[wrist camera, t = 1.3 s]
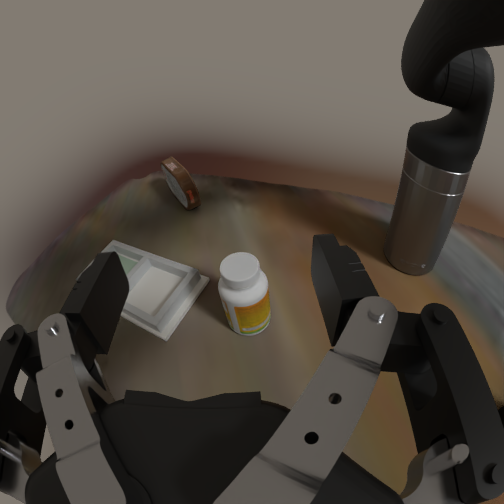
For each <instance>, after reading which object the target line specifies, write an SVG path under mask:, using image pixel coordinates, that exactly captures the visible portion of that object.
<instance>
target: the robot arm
mask: <svg viewBox="0 0 504 504" xmlns="http://www.w3.org/2000/svg"><path fill="white" fill-rule="evenodd" d="M501 45H504V0H424V2H423V4H422V6H421V8H420V10H419V12H418V14H417V16H416V18H415V20H414V22H413V24H412V26H411V28H410V30H409V32H408V34H407V37H406V40H405V43H404V47H403V52H402V59H401V67H402V75H403V78H404V81H405V83H406V85H407V87H408V88H409V90H410V91H411V92H412V93H413V94H415V95H417V96H419V97H421V98H423V99H425V100H427V101H431V102H435V103H439V104H442V105H446V106H449V107H452V110H451V112H450V113H449V114H448V115H446V116H444V117H442V118H440V119H437V120H432V121H425V122H419V123H416V124H414V125H412V126H411V127H410V130H409V133H408V138H407V146H406V153H405V158H404V163H403V169H402V174H401V179H400V184H399V189H398V193H397V197H396V201H395V206H394V210H393V214H392V218H391V221H390V225H389V229H388V232H387V236H386V240H385V243H384V253H385V256H386V258H387V259H388V261H389V262H390V263H391V264H392V265H393V266H394V267H395V268H397V269H398V270H400V271H402V272H404V273H407V274H411V275H423V274H426V273H428V272H430V271H431V270H432V269H433V267H434V265H435V263H436V261H437V259H438V256H439V254H440V252H441V250H442V248H443V246H444V243H445V241H446V239H447V236H448V234H449V231H450V229H451V226H452V224H453V221H454V219H455V216H456V213H457V210H458V208H459V205H460V202H461V199H462V197H463V193H464V190H465V187H466V184H467V180H468V177H469V174H470V170H471V167H472V164H473V161H474V159H475V157H476V155H477V154H478V151H479V149H480V146H481V143H482V139H483V135H484V131H485V127H486V124H487V119H488V115H489V111H490V107H491V102H492V97H493V91H494V68H493V64H492V60H491V58H490V55H489V54H488V52H487V51H486V50H485V49H484V48H483V47H491V46H501ZM311 275H312V281H313V285H314V288H315V291H316V295H317V298H318V301H319V305H320V308H321V311H322V315H323V318H324V322H325V325H326V329H327V332H328V336H329V339H330V343H331V347H332V346H335V347H334V348H333V349H330V350H329V351H328V353H327V354H326V356H325V357H324V359H323V361H322V363H321V364H320V366H319V367H318V369H317V371H316V372H315V374H314V376H313V377H312V379H311V380H310V382H309V384H308V385H307V387H306V388H305V390H304V391H303V393H302V394H301V396H300V397H299V399H298V400H297V402H296V403H295V405H294V406H293V408H292V409H291V410H290V409H288V408H286V407H284V406H282V405H279V404H276V403H273V402H269V401H263V400H261V394H260V392H245V393H224V394H220V395H216V396H212V397H208V398H203V399H199V400H195V401H183V400H180V399H176V398H173V397H169V396H166V395H162V394H159V393H156V392H143V391H132V390H126V393H125V398H124V399H122V400H119V401H115V399H114V398H113V396H112V394H111V392H110V390H109V388H108V386H107V383H106V381H105V379H104V376H103V374H102V372H101V369H100V367H99V364H98V362H97V361H96V360H95V357H96V354H108V351H109V347H110V344H111V341H112V338H113V335H114V332H115V330H116V327H117V324H118V321H119V318H120V316H121V313H122V310H123V307H124V305H125V302H126V299H127V297H128V294H129V281H128V278H127V276H126V273H125V271H124V268H123V266H122V263H121V261H120V258H119V256H118V254H117V253H116V252H115V251H113V252H102V253H98V254H97V256H96V258H95V259H94V261H93V262H92V264H91V265H90V266H89V267H88V268H87V269H86V270H84V271H83V272H82V274H81V275H80V277H79V279H78V280H77V283H76V284H75V286H74V287H73V290H72V291H71V293H70V294H69V296H68V298H67V300H66V302H65V304H64V305H63V307H62V309H61V311H60V313H59V314H53V315H50V316H49V317H47V318H46V319H45V320H44V321H43V322H42V323H41V324H40V326H39V328H38V331H34V332H30V333H27V332H26V331H25V329H24V328H23V327H22V326H21V325H19V324H16V325H13V326H11V327H10V328H8V329H7V330H6V332H5V333H4V334H3V336H2V338H1V341H0V491H1V492H3V493H5V494H8V495H10V496H12V497H14V498H15V499H17V500H19V501H21V502H23V503H25V504H478V503H481V502H485V501H488V500H491V499H494V498H496V497H498V496H500V495H501V494H502V493H503V492H504V428H503V425H502V422H501V418H500V415H499V412H498V410H497V407H496V404H495V401H494V398H493V396H492V393H491V391H490V388H489V385H488V383H487V381H486V378H485V376H484V373H483V371H482V369H481V366H480V364H479V362H478V360H477V358H476V355H475V353H474V351H473V349H472V347H471V345H470V343H469V341H468V339H467V337H466V335H465V333H464V331H463V329H462V327H461V325H460V324H459V322H458V320H457V318H456V316H455V315H454V313H453V312H452V311H451V310H450V309H449V308H448V307H446V306H444V305H442V304H438V303H431V304H428V305H426V306H425V307H424V308H423V309H422V311H421V313H420V314H415V313H405V312H399V311H397V309H396V308H395V306H394V305H393V304H392V303H391V302H390V301H388V300H386V299H384V298H382V297H379V295H378V293H377V291H376V289H375V287H374V285H373V283H372V281H371V279H370V277H369V275H368V274H367V272H366V271H365V268H364V266H363V264H362V263H361V261H360V259H359V257H358V255H357V253H356V252H355V251H353V250H352V249H351V248H350V247H348V246H347V245H345V246H340V245H339V243H338V241H337V239H336V238H335V236H334V234H321V235H314V237H313V248H312V262H311ZM20 369H21V370H22V371H23V372H24V373H25V374H26V375H27V376H28V380H27V383H26V386H25V389H24V393H23V396H22V399H21V401H20V400H19V399H17V397H16V396H15V393H14V386H15V382H16V380H17V377H18V374H19V371H20ZM380 371H386V372H397V374H398V378H399V381H400V384H401V388H402V391H403V395H404V398H405V402H406V406H407V409H408V413H409V417H410V421H411V425H412V429H413V434H414V438H415V442H416V447H417V452H418V454H417V455H416V456H415V457H414V458H413V459H412V461H411V462H410V464H409V467H408V472H407V484H406V486H405V488H404V490H403V492H402V493H401V494H400V495H398V494H397V493H396V492H395V491H394V490H392V489H391V488H390V487H388V486H387V485H385V484H384V483H383V482H381V481H380V480H378V479H377V478H376V477H374V476H373V475H372V474H370V473H369V472H368V471H366V470H365V469H364V468H362V467H361V466H360V465H359V464H357V463H356V462H355V461H353V460H352V459H351V458H350V457H348V456H347V455H346V454H345V453H343V452H342V451H343V449H344V447H345V445H346V443H347V442H348V440H349V438H350V436H351V434H352V432H353V430H354V428H355V426H356V425H357V423H358V421H359V419H360V416H361V414H362V412H363V410H364V408H365V406H366V404H367V402H368V400H369V397H370V395H371V393H372V391H373V388H374V386H375V384H376V381H377V379H378V376H379V374H380ZM46 424H47V426H48V430H49V433H50V436H51V439H52V443H53V445H54V448H55V452H54V453H53V454H52V455H51V456H50V457H49V458H47V459H46V460H45V461H44V462H41V459H40V455H41V449H42V444H43V438H44V433H45V428H46Z"/></svg>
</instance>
